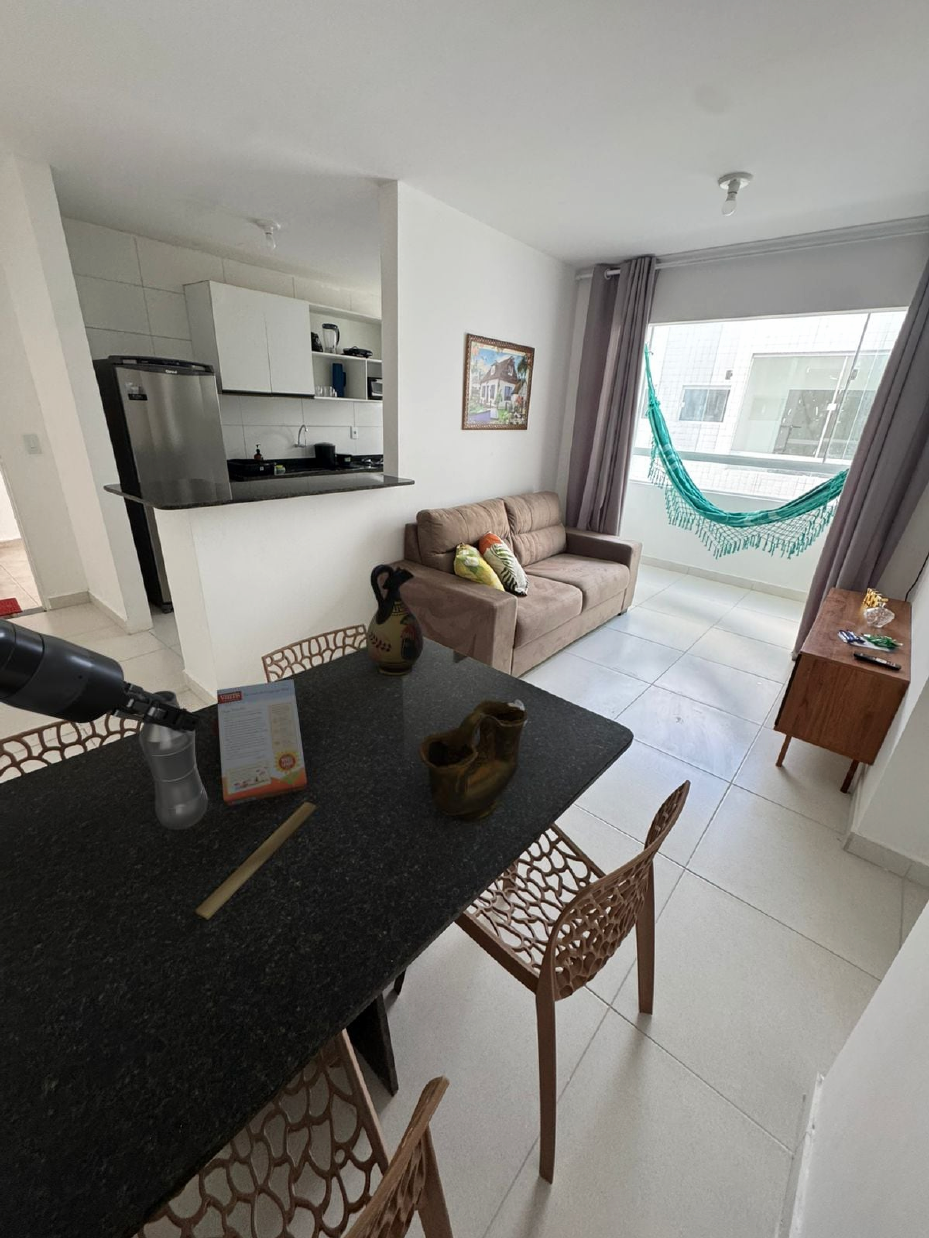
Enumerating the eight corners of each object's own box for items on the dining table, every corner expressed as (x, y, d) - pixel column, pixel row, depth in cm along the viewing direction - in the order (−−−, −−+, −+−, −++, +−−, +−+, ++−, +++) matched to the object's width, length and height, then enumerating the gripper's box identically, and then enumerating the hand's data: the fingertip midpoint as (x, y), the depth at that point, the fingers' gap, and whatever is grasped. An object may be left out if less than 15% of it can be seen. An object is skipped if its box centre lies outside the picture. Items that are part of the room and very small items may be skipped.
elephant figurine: (519, 738, 115) (521, 716, 113) (488, 726, 119) (490, 704, 117) (531, 724, 121) (534, 703, 118) (501, 713, 124) (504, 692, 122)
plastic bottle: (203, 794, 77) (181, 679, 69) (216, 822, 72) (194, 702, 64) (154, 813, 73) (125, 693, 65) (165, 844, 68) (135, 719, 60)
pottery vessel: (448, 859, 85) (453, 763, 77) (402, 824, 91) (403, 732, 83) (531, 782, 102) (542, 698, 94) (488, 757, 109) (495, 677, 101)
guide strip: (195, 913, 74) (195, 910, 73) (306, 803, 94) (305, 801, 94) (208, 919, 73) (207, 917, 73) (316, 808, 93) (316, 805, 93)
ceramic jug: (402, 649, 152) (402, 552, 140) (433, 670, 141) (437, 567, 129) (351, 665, 142) (346, 561, 130) (380, 689, 131) (379, 579, 119)
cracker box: (306, 790, 98) (294, 688, 106) (307, 784, 93) (294, 677, 101) (226, 807, 93) (220, 698, 101) (222, 801, 88) (216, 687, 96)
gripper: (124, 661, 51) (232, 704, 66) (35, 630, 56) (154, 676, 71) (82, 733, 49) (204, 761, 64) (-7, 693, 54) (125, 728, 69)
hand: (177, 716), depth 67 cm, fingers closed on plastic bottle, 6 cm apart
